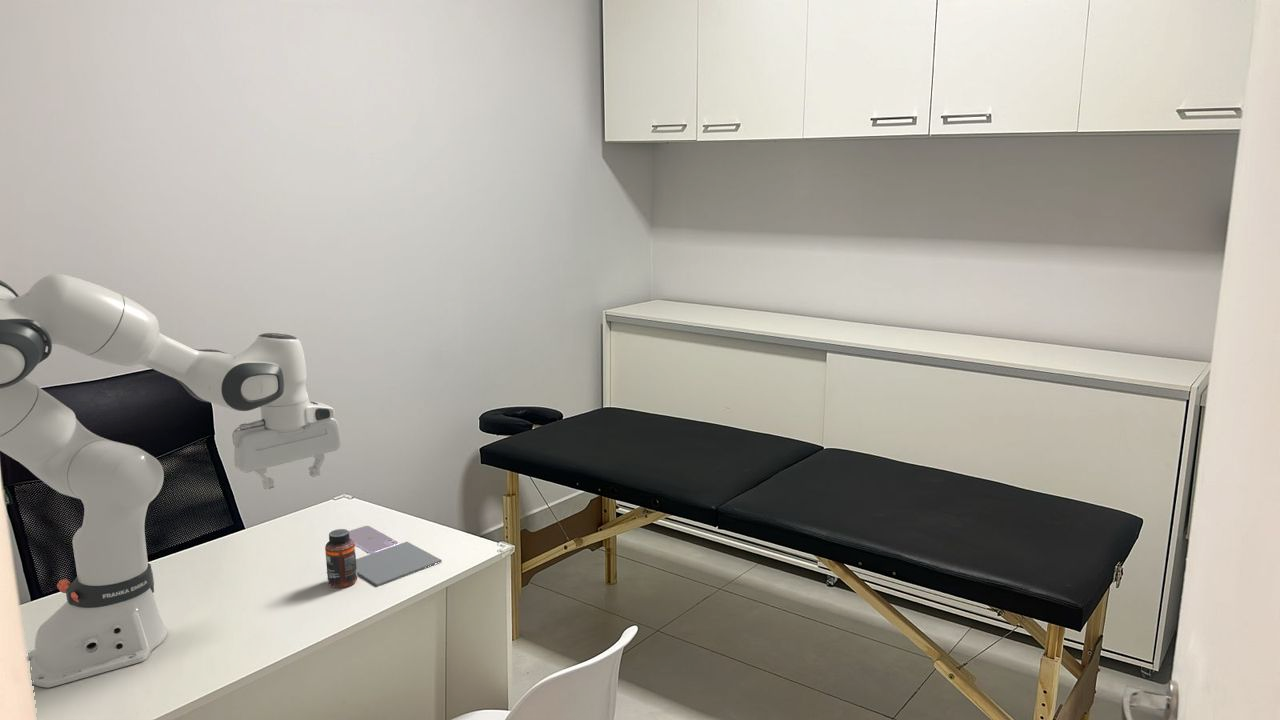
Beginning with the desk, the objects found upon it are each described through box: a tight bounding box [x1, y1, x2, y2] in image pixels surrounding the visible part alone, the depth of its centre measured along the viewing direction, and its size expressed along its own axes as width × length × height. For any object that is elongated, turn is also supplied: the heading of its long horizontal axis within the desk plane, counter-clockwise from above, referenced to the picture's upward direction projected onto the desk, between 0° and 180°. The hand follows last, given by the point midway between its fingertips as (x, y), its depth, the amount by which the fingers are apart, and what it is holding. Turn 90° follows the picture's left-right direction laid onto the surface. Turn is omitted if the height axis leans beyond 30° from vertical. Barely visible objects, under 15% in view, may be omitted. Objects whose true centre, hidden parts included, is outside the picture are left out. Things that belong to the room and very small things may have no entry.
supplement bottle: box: [324, 528, 358, 589], centre depth 185 cm, size 6×6×11 cm
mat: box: [356, 541, 443, 587], centre depth 195 cm, size 16×14×1 cm
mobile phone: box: [348, 525, 400, 555], centre depth 207 cm, size 8×1×15 cm
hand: (292, 481), depth 175 cm, fingers open, 8 cm apart
